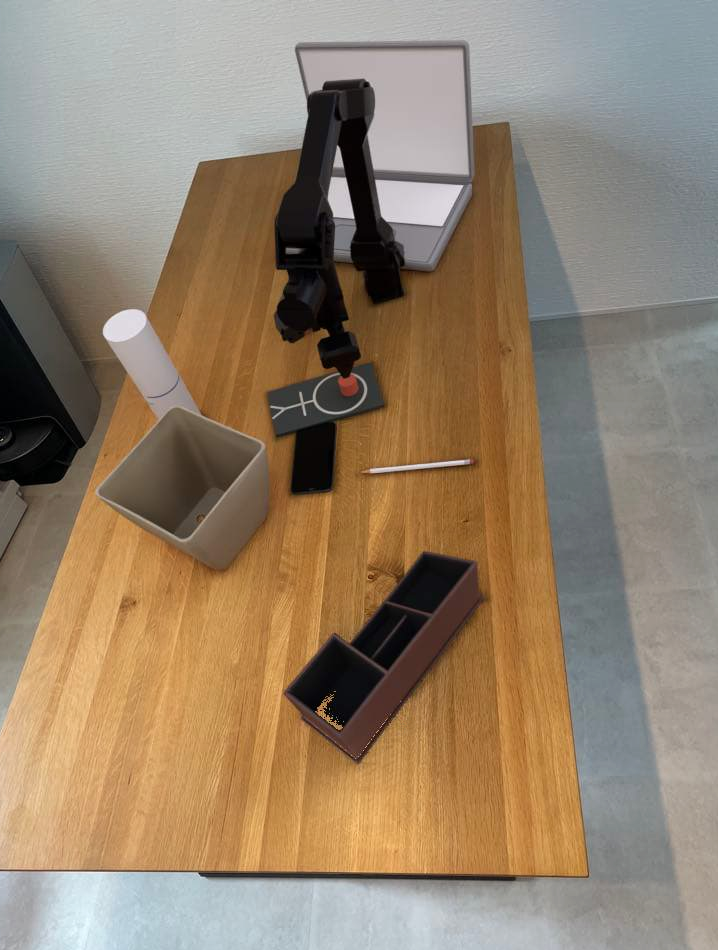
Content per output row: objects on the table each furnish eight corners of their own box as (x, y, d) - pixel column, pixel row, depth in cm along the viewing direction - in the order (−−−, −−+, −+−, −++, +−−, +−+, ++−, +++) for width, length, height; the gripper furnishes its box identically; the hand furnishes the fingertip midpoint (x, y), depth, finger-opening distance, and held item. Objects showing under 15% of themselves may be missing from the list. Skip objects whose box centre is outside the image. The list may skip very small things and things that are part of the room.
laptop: (277, 257, 148) (232, 120, 124) (328, 179, 160) (296, 40, 135) (432, 275, 135) (416, 126, 111) (476, 189, 147) (470, 38, 123)
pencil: (474, 464, 110) (473, 462, 109) (360, 475, 113) (359, 473, 112) (473, 460, 110) (473, 458, 110) (360, 471, 113) (359, 469, 113)
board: (371, 364, 126) (370, 361, 125) (384, 407, 120) (383, 403, 119) (268, 394, 127) (266, 391, 126) (276, 438, 121) (274, 434, 120)
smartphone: (297, 428, 122) (290, 496, 114) (296, 425, 121) (289, 493, 113) (337, 423, 121) (333, 492, 113) (336, 420, 120) (332, 489, 112)
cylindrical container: (199, 445, 123) (136, 341, 102) (164, 444, 125) (95, 341, 104) (211, 415, 127) (152, 308, 106) (176, 414, 129) (112, 309, 108)
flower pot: (297, 506, 112) (267, 442, 98) (228, 598, 106) (185, 543, 91) (212, 467, 120) (173, 402, 106) (143, 550, 114) (91, 493, 99)
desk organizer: (300, 719, 93) (277, 693, 84) (426, 563, 102) (418, 523, 93) (358, 766, 89) (340, 744, 79) (485, 598, 98) (483, 560, 88)
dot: (356, 381, 123) (353, 371, 121) (360, 393, 121) (357, 383, 119) (339, 386, 123) (336, 376, 121) (342, 398, 122) (339, 388, 120)
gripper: (261, 262, 109) (288, 336, 122) (277, 338, 99) (304, 411, 112) (328, 242, 108) (348, 318, 121) (351, 317, 98) (369, 392, 111)
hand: (341, 359), depth 116 cm, fingers open, 9 cm apart
